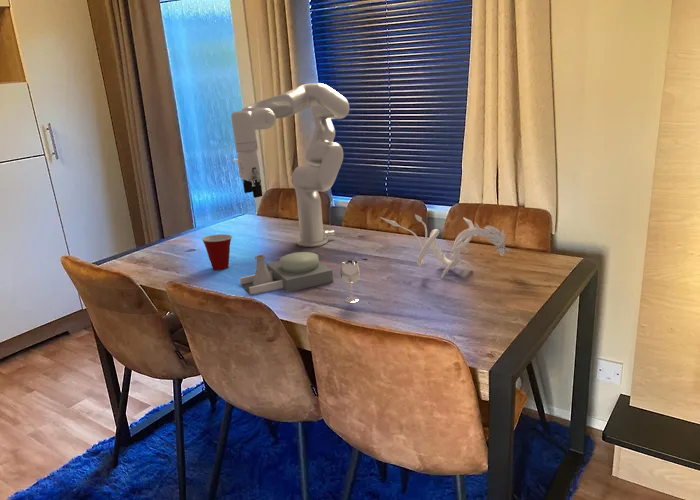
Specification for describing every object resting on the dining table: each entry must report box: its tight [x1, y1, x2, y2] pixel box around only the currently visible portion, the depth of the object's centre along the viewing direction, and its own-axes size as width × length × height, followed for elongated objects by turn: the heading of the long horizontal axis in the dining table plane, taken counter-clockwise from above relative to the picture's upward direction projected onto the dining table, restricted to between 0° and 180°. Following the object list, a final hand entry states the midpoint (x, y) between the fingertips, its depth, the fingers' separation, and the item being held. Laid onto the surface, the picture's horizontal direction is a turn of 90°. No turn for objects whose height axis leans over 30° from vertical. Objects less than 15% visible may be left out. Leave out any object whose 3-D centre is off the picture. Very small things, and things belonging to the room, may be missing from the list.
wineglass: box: [340, 259, 361, 304], centre depth 174 cm, size 6×6×12 cm
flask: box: [253, 254, 274, 286], centre depth 191 cm, size 7×7×10 cm
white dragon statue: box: [379, 213, 512, 279], centre depth 188 cm, size 43×20×25 cm, turn 65°
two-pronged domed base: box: [239, 251, 334, 296], centre depth 194 cm, size 27×20×7 cm
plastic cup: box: [201, 233, 233, 271], centre depth 211 cm, size 11×11×12 cm
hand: (253, 194), depth 208 cm, fingers open, 9 cm apart
